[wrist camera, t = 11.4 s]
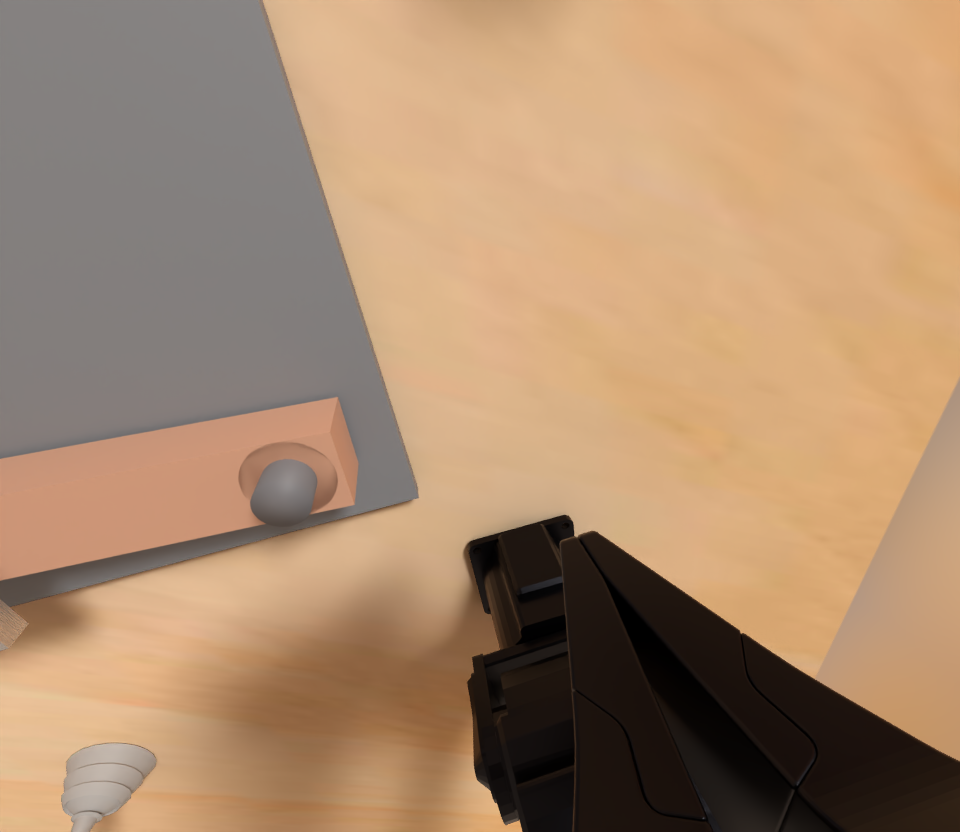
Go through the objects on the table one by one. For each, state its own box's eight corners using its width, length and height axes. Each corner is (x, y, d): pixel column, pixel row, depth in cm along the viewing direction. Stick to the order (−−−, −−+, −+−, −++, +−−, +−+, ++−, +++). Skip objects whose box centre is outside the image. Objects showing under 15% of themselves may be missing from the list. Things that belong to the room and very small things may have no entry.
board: (417, 486, 22) (418, 497, 22) (-88, 619, 20) (-109, 638, 19) (221, -127, 12) (208, -153, 11) (-914, 20, 9) (-1046, 3, 9)
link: (338, 397, 18) (325, 452, 14) (358, 463, 20) (352, 528, 16) (-147, 485, 16) (-315, 579, 12) (-76, 551, 18) (-204, 651, 14)
